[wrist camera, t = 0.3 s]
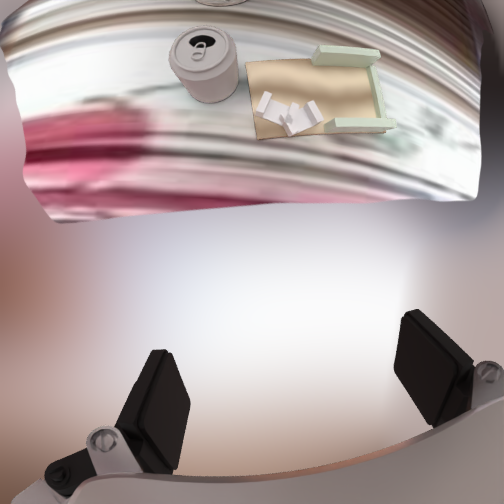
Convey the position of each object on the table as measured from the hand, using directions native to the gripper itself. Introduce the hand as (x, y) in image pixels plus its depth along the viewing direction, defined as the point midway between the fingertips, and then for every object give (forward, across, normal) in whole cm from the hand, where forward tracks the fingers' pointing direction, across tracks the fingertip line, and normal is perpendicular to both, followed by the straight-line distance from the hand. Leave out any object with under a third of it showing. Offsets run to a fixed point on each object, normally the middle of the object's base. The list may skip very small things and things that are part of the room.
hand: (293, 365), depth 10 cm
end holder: (+29, -16, -18) cm, 38 cm away
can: (+30, +4, -22) cm, 38 cm away
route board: (+30, -11, -18) cm, 37 cm away
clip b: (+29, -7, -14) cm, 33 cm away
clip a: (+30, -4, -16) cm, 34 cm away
